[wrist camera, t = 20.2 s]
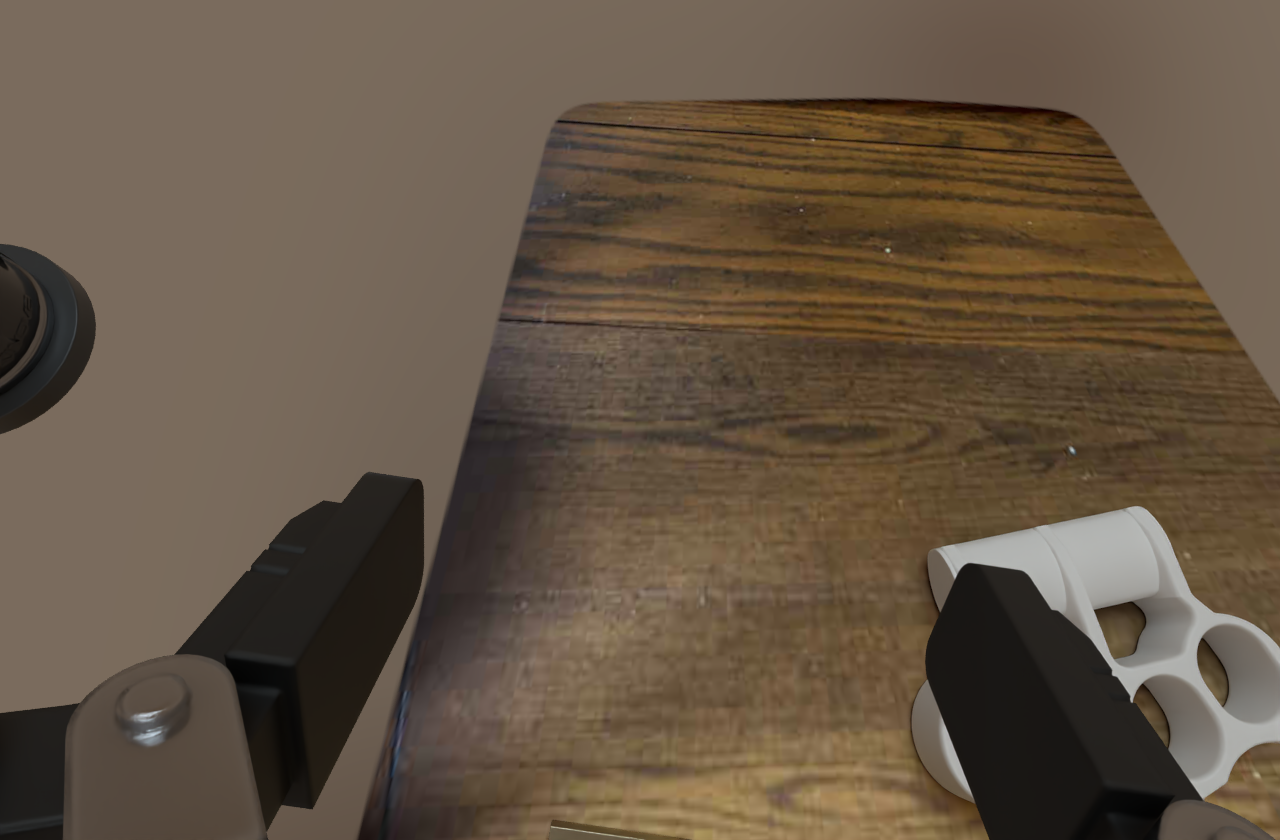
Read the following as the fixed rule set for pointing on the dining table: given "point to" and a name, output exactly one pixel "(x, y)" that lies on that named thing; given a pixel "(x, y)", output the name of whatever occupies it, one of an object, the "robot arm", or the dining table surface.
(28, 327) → the robot arm
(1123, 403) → the dining table surface
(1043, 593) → the white brass knuckles
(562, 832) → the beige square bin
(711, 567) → the dining table surface
